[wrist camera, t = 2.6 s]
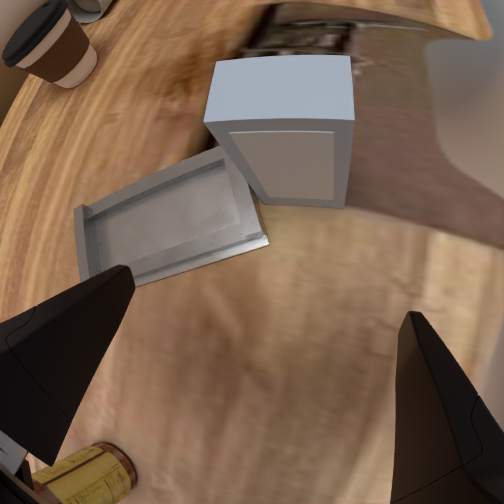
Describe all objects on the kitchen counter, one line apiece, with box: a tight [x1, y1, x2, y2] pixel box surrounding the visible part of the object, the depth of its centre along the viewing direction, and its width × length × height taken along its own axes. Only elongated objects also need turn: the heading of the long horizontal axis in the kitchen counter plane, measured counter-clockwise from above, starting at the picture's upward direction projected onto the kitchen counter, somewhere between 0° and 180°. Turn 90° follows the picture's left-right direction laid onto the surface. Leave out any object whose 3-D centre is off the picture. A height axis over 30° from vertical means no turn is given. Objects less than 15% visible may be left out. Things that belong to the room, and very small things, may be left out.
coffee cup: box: [2, 0, 97, 88], centre depth 27 cm, size 11×11×12 cm
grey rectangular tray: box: [74, 145, 269, 288], centre depth 24 cm, size 16×9×2 cm, turn 105°
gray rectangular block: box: [204, 55, 355, 208], centre depth 17 cm, size 4×6×12 cm, turn 84°
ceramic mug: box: [67, 0, 113, 23], centre depth 33 cm, size 11×8×8 cm
